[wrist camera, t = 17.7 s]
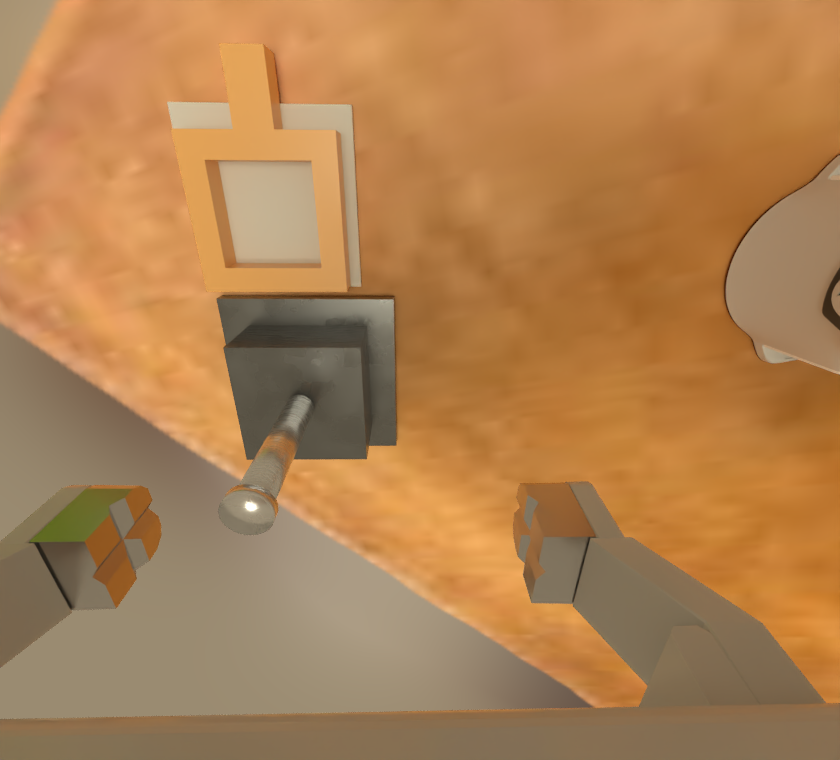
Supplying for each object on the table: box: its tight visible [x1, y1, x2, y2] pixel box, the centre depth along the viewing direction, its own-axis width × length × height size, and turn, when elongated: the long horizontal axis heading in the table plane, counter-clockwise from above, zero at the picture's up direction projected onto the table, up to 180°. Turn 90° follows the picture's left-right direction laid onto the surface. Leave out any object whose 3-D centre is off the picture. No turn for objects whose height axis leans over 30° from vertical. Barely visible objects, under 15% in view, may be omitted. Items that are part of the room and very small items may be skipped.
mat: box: [167, 102, 361, 287], centre depth 35 cm, size 14×14×1 cm
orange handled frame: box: [171, 43, 351, 292], centre depth 33 cm, size 12×17×2 cm
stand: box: [217, 295, 397, 535], centre depth 33 cm, size 16×16×20 cm
